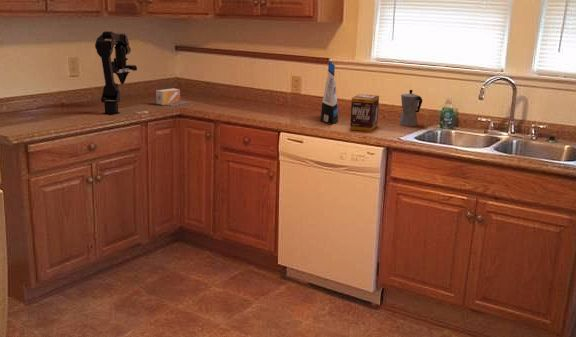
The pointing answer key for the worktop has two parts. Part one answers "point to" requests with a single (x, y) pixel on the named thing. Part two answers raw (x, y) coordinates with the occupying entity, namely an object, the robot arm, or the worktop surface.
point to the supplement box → (364, 112)
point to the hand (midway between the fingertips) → (122, 84)
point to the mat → (170, 104)
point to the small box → (168, 96)
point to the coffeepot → (410, 109)
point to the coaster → (141, 112)
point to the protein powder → (330, 98)
